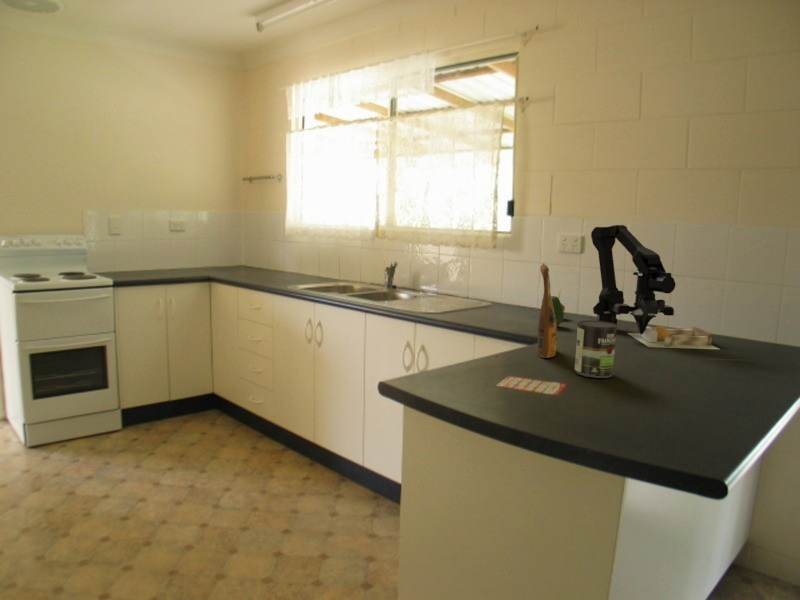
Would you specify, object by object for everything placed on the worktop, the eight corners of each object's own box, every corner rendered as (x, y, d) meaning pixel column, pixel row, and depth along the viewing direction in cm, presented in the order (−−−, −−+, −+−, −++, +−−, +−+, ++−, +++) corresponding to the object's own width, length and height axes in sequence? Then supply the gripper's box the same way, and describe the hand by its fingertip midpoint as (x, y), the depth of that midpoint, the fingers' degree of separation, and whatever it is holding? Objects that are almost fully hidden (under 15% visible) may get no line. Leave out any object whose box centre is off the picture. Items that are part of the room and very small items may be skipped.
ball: (652, 335, 199) (663, 324, 198) (647, 332, 204) (657, 321, 203) (663, 344, 199) (674, 334, 198) (658, 341, 204) (668, 331, 203)
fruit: (565, 329, 220) (567, 297, 218) (544, 328, 220) (546, 297, 218) (560, 324, 228) (562, 294, 226) (540, 324, 228) (541, 294, 226)
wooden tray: (665, 346, 191) (666, 335, 191) (643, 333, 212) (644, 323, 211) (716, 348, 190) (718, 336, 190) (689, 335, 211) (690, 324, 210)
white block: (649, 341, 197) (650, 331, 196) (640, 336, 206) (640, 325, 206) (656, 342, 197) (657, 331, 196) (646, 336, 206) (647, 326, 205)
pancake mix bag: (531, 359, 173) (537, 266, 169) (536, 345, 191) (541, 261, 187) (555, 361, 171) (561, 267, 167) (557, 347, 189) (562, 262, 185)
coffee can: (621, 376, 157) (625, 325, 155) (593, 381, 152) (597, 328, 150) (593, 367, 166) (596, 319, 164) (565, 371, 161) (569, 321, 159)
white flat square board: (648, 348, 191) (648, 346, 191) (626, 334, 213) (626, 332, 213) (720, 350, 190) (720, 349, 190) (690, 336, 211) (691, 335, 211)
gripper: (624, 291, 192) (620, 337, 194) (682, 293, 190) (678, 340, 193) (614, 287, 203) (611, 331, 205) (669, 289, 201) (665, 333, 204)
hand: (641, 333), depth 201 cm, fingers closed
